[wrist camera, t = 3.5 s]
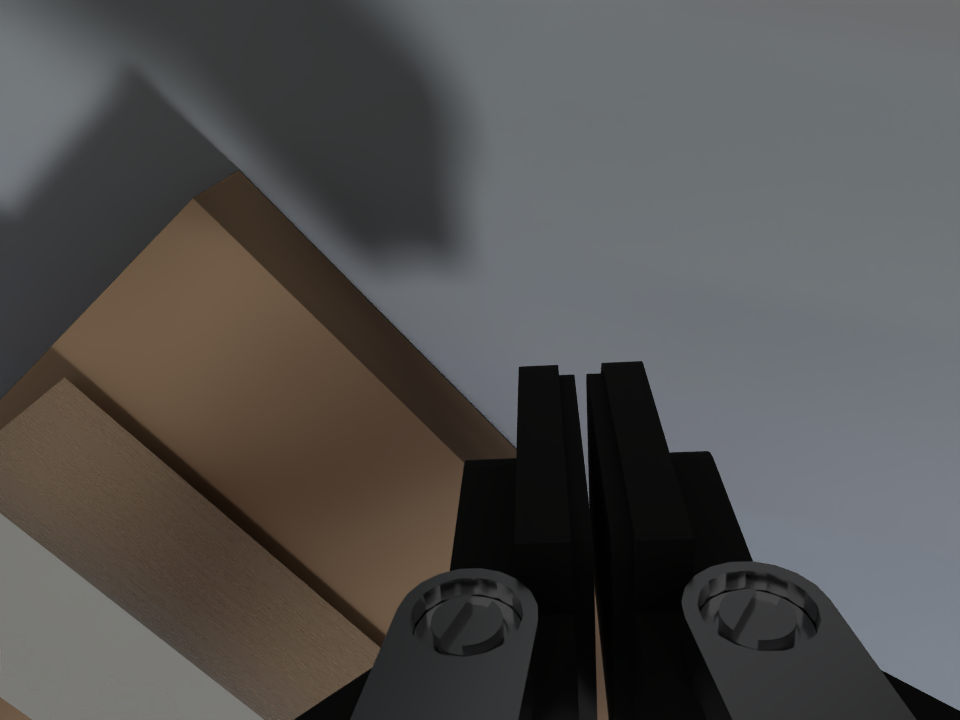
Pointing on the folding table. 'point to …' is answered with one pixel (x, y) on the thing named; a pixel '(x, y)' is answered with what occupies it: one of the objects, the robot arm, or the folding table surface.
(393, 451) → the plate
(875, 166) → the folding table surface
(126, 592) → the lock bar
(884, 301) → the folding table surface
